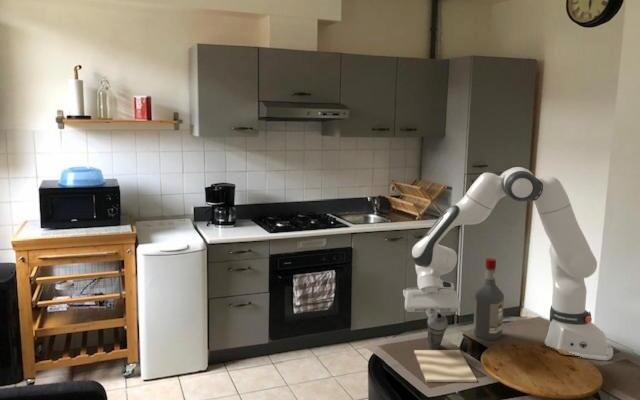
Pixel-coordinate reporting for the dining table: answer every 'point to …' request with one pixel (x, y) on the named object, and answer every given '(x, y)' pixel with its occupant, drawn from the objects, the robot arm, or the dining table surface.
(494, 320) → the liquor
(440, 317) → the beverage cup
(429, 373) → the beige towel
